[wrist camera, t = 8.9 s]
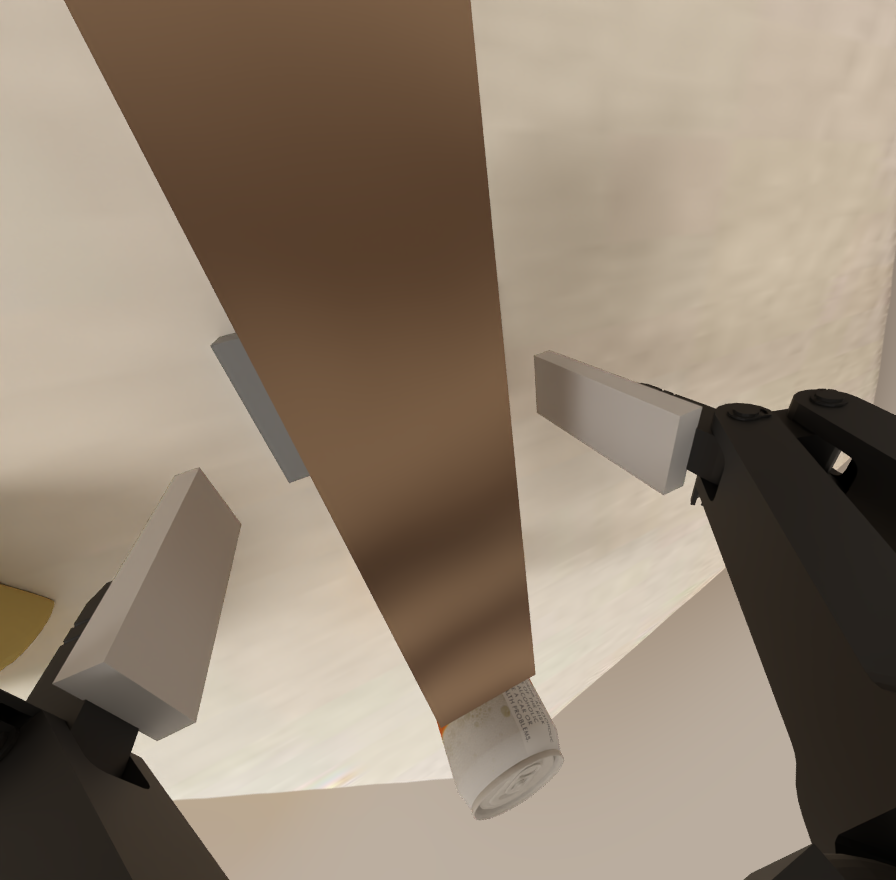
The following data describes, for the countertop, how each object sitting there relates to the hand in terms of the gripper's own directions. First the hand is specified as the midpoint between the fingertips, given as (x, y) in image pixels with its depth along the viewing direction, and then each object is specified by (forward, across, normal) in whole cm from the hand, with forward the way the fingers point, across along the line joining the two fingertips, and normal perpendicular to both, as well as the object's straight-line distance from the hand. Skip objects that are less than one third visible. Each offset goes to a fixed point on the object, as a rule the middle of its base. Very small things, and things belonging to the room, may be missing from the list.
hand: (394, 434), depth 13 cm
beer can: (+8, 0, -18) cm, 20 cm away
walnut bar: (0, 0, 0) cm, 0 cm away
